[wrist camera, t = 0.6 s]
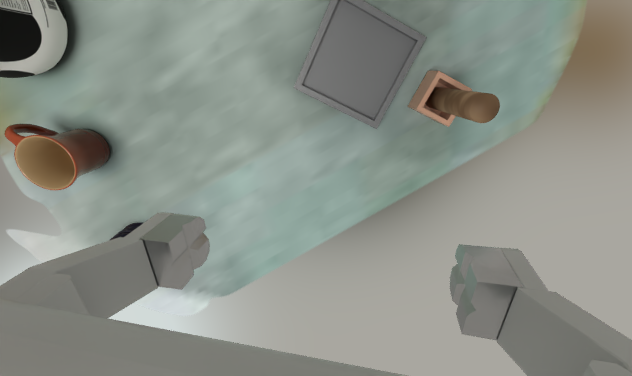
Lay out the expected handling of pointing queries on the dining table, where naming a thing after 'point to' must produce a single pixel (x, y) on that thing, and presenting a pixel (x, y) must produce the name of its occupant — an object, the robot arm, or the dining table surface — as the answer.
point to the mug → (56, 154)
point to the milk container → (31, 36)
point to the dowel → (464, 104)
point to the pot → (425, 90)
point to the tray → (358, 60)
